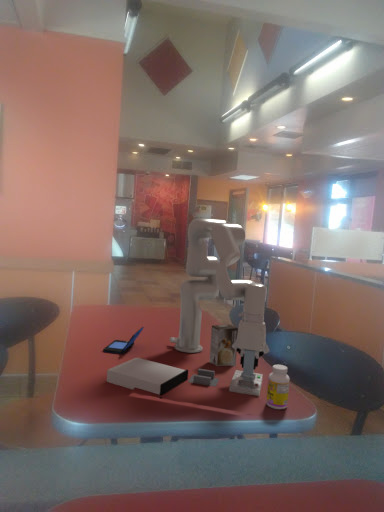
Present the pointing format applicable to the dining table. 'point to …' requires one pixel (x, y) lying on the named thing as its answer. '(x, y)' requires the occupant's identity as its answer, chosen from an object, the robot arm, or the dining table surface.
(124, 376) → the disc drive
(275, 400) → the supplement bottle
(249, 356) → the plug
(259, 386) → the port panel
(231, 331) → the coffee box
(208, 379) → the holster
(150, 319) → the dining table surface
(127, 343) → the handheld game console
